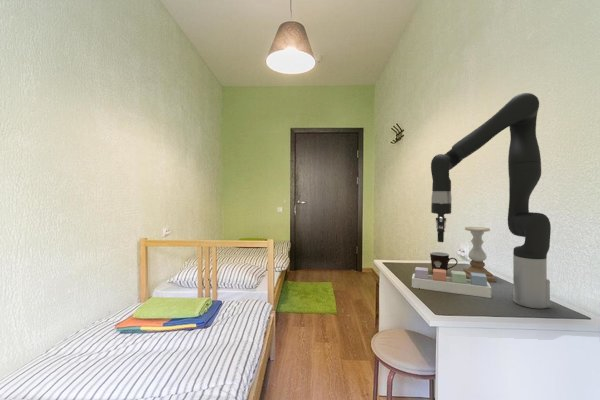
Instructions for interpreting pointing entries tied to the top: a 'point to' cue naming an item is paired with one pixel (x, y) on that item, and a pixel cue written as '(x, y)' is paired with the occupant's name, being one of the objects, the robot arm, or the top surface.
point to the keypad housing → (452, 286)
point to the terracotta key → (439, 275)
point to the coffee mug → (440, 261)
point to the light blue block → (478, 279)
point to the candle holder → (477, 254)
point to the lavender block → (421, 273)
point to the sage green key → (458, 277)
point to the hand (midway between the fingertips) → (440, 240)
